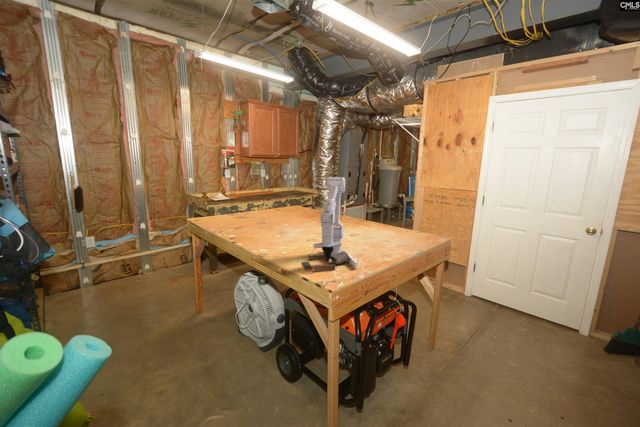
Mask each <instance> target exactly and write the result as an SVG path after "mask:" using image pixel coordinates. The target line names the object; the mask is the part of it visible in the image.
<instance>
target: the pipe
mask: <svg viewBox="0 0 640 427" xmlns="http://www.w3.org/2000/svg"><path fill="white" fill-rule="evenodd" d="M345 251H346V250H345ZM345 251H343V250H342V251H341V252H340V253H338V254H336V255H335V254H333V253H331V256H330V259H329V260H330V261H331V263H332V265H333V264H335V265H340V264H344V263H349V261H350V258H349V255H350V254H349V253H348V252H347V251H346V252H347V253H348V254H349V255H348V254H347V253H346V252H345Z"/></svg>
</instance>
